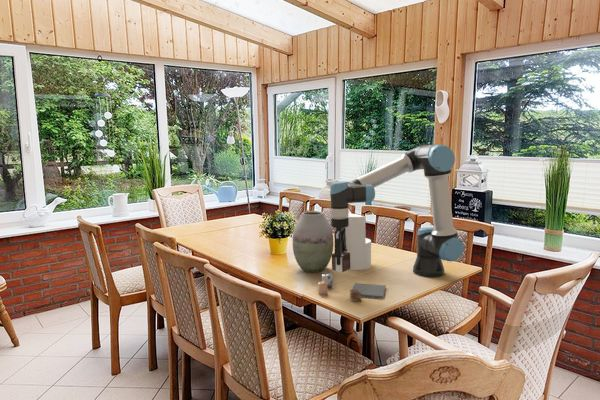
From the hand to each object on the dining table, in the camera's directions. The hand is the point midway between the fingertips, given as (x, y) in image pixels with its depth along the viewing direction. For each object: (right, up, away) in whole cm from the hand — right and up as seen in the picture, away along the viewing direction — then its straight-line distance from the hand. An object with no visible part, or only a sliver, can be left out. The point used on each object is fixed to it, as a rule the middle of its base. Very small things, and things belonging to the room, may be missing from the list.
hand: (340, 268), depth 185 cm
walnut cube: (+5, -12, -7) cm, 15 cm away
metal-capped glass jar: (-5, -10, +9) cm, 14 cm away
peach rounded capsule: (-8, -11, 0) cm, 14 cm away
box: (0, -1, 0) cm, 1 cm away
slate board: (+12, -11, +2) cm, 16 cm away
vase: (-11, -6, +36) cm, 39 cm away
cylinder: (+12, -5, +42) cm, 44 cm away
